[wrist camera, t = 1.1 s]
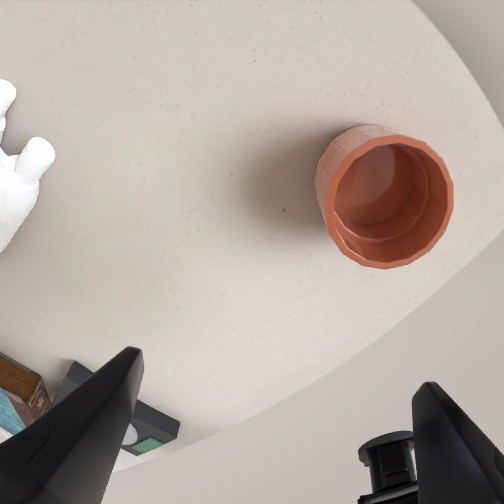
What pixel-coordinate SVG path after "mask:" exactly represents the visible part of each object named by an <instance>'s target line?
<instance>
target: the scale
mask: <svg viewBox="0 0 504 504" xmlns="http://www.w3.org/2000/svg"><path fill="white" fill-rule="evenodd" d="M92 374H94V373H93V372H91V371H90V370H88V369H87V368H85V367H84V366H82V365H81V364H79V363H78V362H77V361H74V363H73V365H72V367H71V368H70V370H69V372H68V374H67V375H66V377H65V379H64V381H63V383H62V385H61V386H60V388H59V390H58V392H57V394H56V396H55V398H54V400H53V401H52V403H51V405H50V407H53V406H54V405H55V404H56V403H58V402H59V401H60V400H61V399H63V398H64V397H65V396H66V395H68V394H69V393H70V392H71V391H73V390H74V389H75V388H76V387H78V386H79V385H80V384H81V383H83V382H84V381H85V380H86V379H88V378H89V377H90V376H91V375H92ZM179 426H180V422H179V421H177V420H175V419H173V418H171V417H169V416H167V415H165V414H163V413H161V412H159V411H157V410H155V409H153V408H151V407H150V406H148V405H146V404H144V403H142V402H140V401H139V400H136V404H135V408H134V412H133V415H132V418H131V421H130V424H129V426H128V429H127V432H126V434H125V437H124V440H123V442H122V445H121V449H123V450H125V451H128V452H130V453H132V454H134V455H136V456H138V455H141V454H143V453H145V452H148V451H150V450H152V449H155V448H157V447H159V446H161V445H164V444H166V443H168V442H170V441H172V440H174V439H176V438H177V434H178V430H179Z"/></svg>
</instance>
